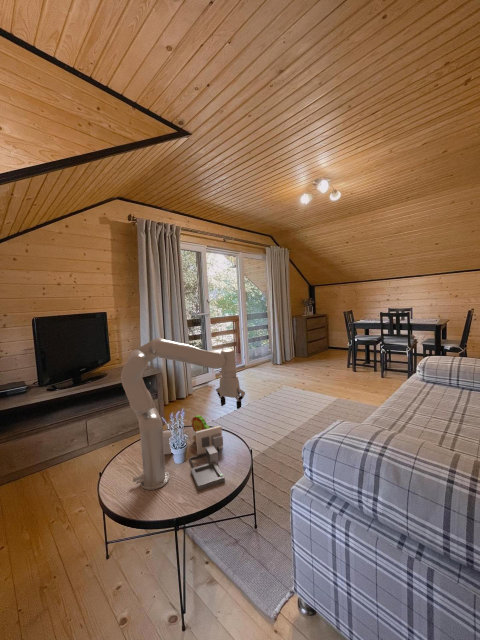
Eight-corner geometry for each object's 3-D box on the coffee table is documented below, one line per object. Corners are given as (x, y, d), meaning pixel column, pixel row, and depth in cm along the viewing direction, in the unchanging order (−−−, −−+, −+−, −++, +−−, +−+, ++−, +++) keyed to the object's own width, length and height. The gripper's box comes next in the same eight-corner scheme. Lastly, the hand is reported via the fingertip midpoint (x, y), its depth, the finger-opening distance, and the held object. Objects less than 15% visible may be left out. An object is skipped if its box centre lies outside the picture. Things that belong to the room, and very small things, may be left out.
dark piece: (194, 471, 128) (193, 464, 128) (188, 459, 139) (188, 452, 139) (225, 461, 135) (225, 454, 135) (218, 450, 145) (218, 444, 145)
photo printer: (176, 449, 149) (174, 428, 149) (175, 453, 145) (173, 431, 144) (156, 452, 148) (155, 430, 147) (155, 456, 144) (153, 434, 143)
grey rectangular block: (210, 466, 132) (209, 454, 132) (206, 459, 139) (205, 447, 138) (218, 463, 134) (217, 452, 133) (213, 456, 140) (213, 445, 140)
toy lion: (215, 444, 153) (214, 418, 152) (208, 448, 149) (206, 421, 148) (197, 436, 163) (195, 412, 162) (190, 440, 159) (188, 415, 158)
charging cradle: (198, 490, 115) (198, 485, 115) (190, 472, 128) (190, 468, 128) (224, 481, 120) (224, 476, 120) (214, 465, 133) (214, 460, 132)
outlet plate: (200, 458, 139) (198, 436, 138) (197, 453, 144) (195, 431, 143) (225, 451, 145) (223, 429, 144) (221, 446, 150) (220, 425, 149)
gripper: (211, 374, 138) (213, 406, 139) (239, 377, 129) (241, 412, 130) (219, 370, 145) (221, 401, 146) (247, 373, 136) (249, 406, 137)
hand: (231, 406), depth 138 cm, fingers open, 9 cm apart
